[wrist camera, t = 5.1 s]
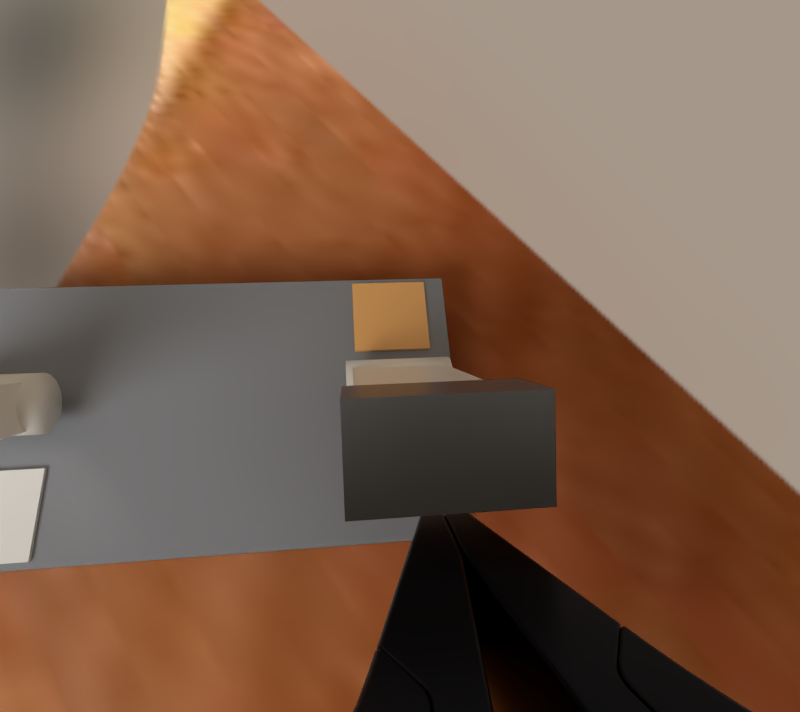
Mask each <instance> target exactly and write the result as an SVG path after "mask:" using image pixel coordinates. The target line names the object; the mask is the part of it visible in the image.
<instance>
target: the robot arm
mask: <svg viewBox="0 0 800 712" xmlns="http://www.w3.org/2000/svg"><path fill="white" fill-rule="evenodd" d="M353 712H751V711H750V710H748V709H747V708H745V707H743V706H742V705H740V704H739V703H737V702H735V701H734V700H732V699H731V698H729V697H728V696H726V695H724V694H723V693H721V692H720V691H718V690H717V689H715V688H714V687H712V686H711V685H709V684H707V683H706V682H704V681H703V680H701V679H700V678H698V677H697V676H695V675H694V674H692V673H690V672H689V671H687V670H686V669H684V668H683V667H681V666H680V665H679V664H677V663H676V662H674V661H673V660H671V659H670V658H669V657H667V656H666V655H664V654H663V653H661V652H660V651H659V650H657V649H656V648H654V647H653V646H651V645H650V644H649V643H647V642H646V641H644V640H643V639H642V638H640V637H639V636H637V635H636V634H635V633H633V632H632V631H631V630H629V629H628V628H627V627H625V626H623V627H621V629H620V624H619V623H618V622H617V621H616V620H614V619H613V618H611V617H610V616H609V615H607V614H606V613H605V612H603V611H602V610H600V609H599V608H598V607H596V606H595V605H594V604H592V603H591V602H590V601H588V600H587V599H585V598H584V597H583V596H581V595H580V594H579V593H577V592H576V591H574V590H573V589H572V588H570V587H569V586H568V585H566V584H565V583H564V582H562V581H561V580H559V579H558V578H557V577H555V576H554V575H553V574H551V573H550V572H548V571H547V570H546V569H544V568H543V567H542V566H540V565H539V564H538V563H536V562H535V561H533V560H532V559H531V558H529V557H528V556H527V555H525V554H524V553H522V552H521V551H520V550H518V549H517V548H516V547H514V546H513V545H512V544H510V543H509V542H507V541H506V540H505V539H503V538H502V537H501V536H499V535H498V534H497V533H495V532H494V531H492V530H491V529H490V528H488V527H487V526H486V525H484V524H483V523H481V522H480V521H479V520H477V519H476V518H475V517H473V516H472V515H471V514H469V513H460V514H446V515H432V516H420V518H419V521H418V524H417V527H416V530H415V533H414V536H413V539H412V542H411V546H410V549H409V552H408V555H407V558H406V561H405V564H404V567H403V570H402V573H401V576H400V579H399V582H398V585H397V588H396V591H395V594H394V597H393V600H392V604H391V607H390V610H389V613H388V616H387V619H386V622H385V625H384V628H383V631H382V634H381V637H380V640H379V643H378V646H377V650H376V651H375V654H374V657H373V660H372V663H371V666H370V669H369V672H368V675H367V677H366V680H365V683H364V685H363V688H362V691H361V693H360V696H359V699H358V701H357V704H356V706H355V709H354V711H353Z"/></svg>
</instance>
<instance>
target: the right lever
mask: <svg viewBox="0 0 800 712" xmlns="http://www.w3.org/2000/svg"><path fill="white" fill-rule="evenodd" d="M340 412H341V437H342V461H343V486H344V510H345V522H347V521H362V520H376V519H390V518H404V517H418V516H432V515H446V514H460V513H475V512H489V511H503V510H517V509H531V508H545V507H557V500H556V428H555V389H553V388H550V387H547V386H543V385H540V384H537V383H533V382H530V381H527V380H523V379H520V378H511V379H488V380H483V379H480V378H478V377H475V376H473V375H470V374H468V373H465V372H463V371H460V370H458V369H455V368H453V367H452V363H451V360H450V358H449V357H427V358H402V359H376V360H351V361H346V386H342V389H341V396H340Z"/></svg>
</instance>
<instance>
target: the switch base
mask: <svg viewBox="0 0 800 712" xmlns="http://www.w3.org/2000/svg"><path fill="white" fill-rule="evenodd" d="M427 357H449V358H450V350H449V341H448V332H447V323H446V315H445V306H444V297H443V288H442V279H441V278H431V279H389V280H347V281H306V282H264V283H222V284H180V285H139V286H97V287H55V288H17V289H16V288H15V289H0V374H22V373H48V374H50V375H52V376H53V377H54V378H55V379H56V381H57V383H58V384H59V387H60V390H61V394H62V411H61V416H60V419H59V421H58V423H57V425H56V427H55V428H54V429H53V430H52V431H51V432H49V433H47V434H44V435H24V436H11V437H8V438H5V439H1V440H0V572H2V571H15V570H28V569H42V568H55V567H68V566H81V565H95V564H108V563H121V562H134V561H148V560H161V559H174V558H188V557H201V556H214V555H227V554H241V553H254V552H267V551H280V550H294V549H307V548H320V547H333V546H347V545H360V544H373V543H386V542H400V541H412V539H413V536H414V533H415V530H416V527H417V524H418V521H419V518H420V516H418V517H404V518H390V519H376V520H362V521H347V522H345V510H344V486H343V461H342V437H341V412H340V396H341V389H342V386H346V361H351V360H376V359H402V358H427ZM450 360H451V359H450Z"/></svg>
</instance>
